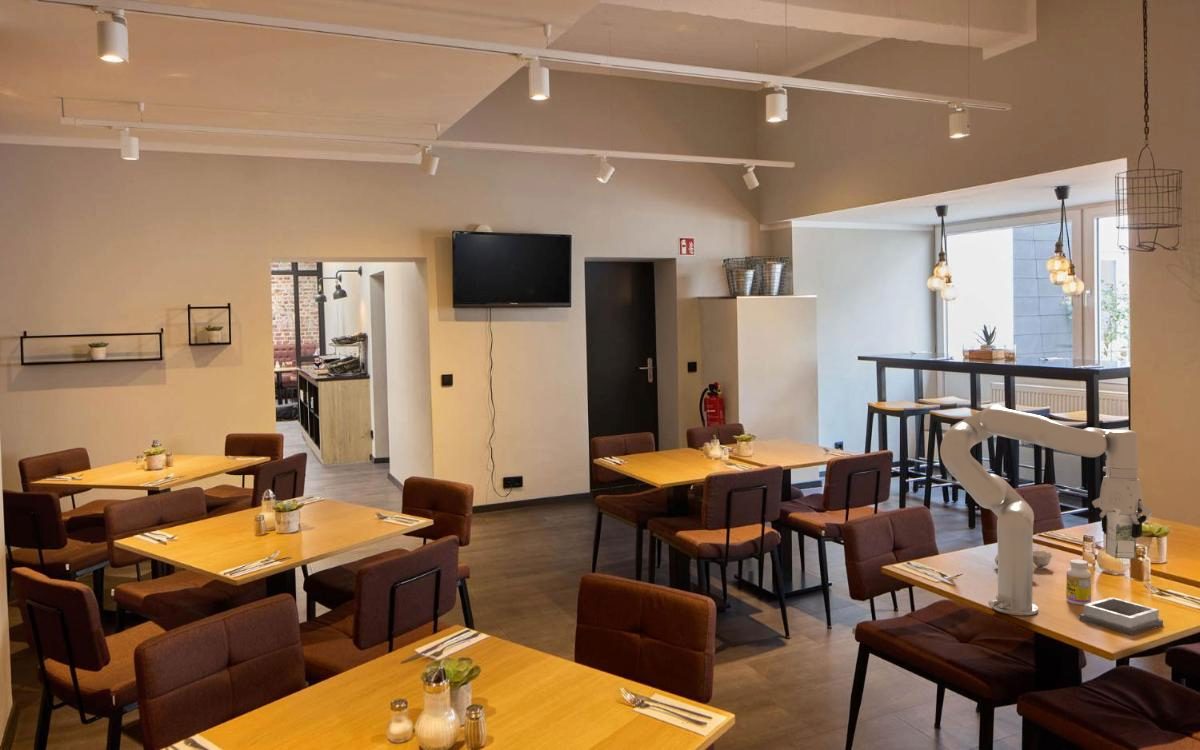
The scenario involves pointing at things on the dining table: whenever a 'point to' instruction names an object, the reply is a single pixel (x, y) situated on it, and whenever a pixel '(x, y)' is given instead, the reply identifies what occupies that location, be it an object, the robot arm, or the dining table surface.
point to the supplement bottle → (1078, 583)
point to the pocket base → (1121, 615)
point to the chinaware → (1037, 559)
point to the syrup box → (1120, 535)
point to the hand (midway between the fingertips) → (1121, 533)
